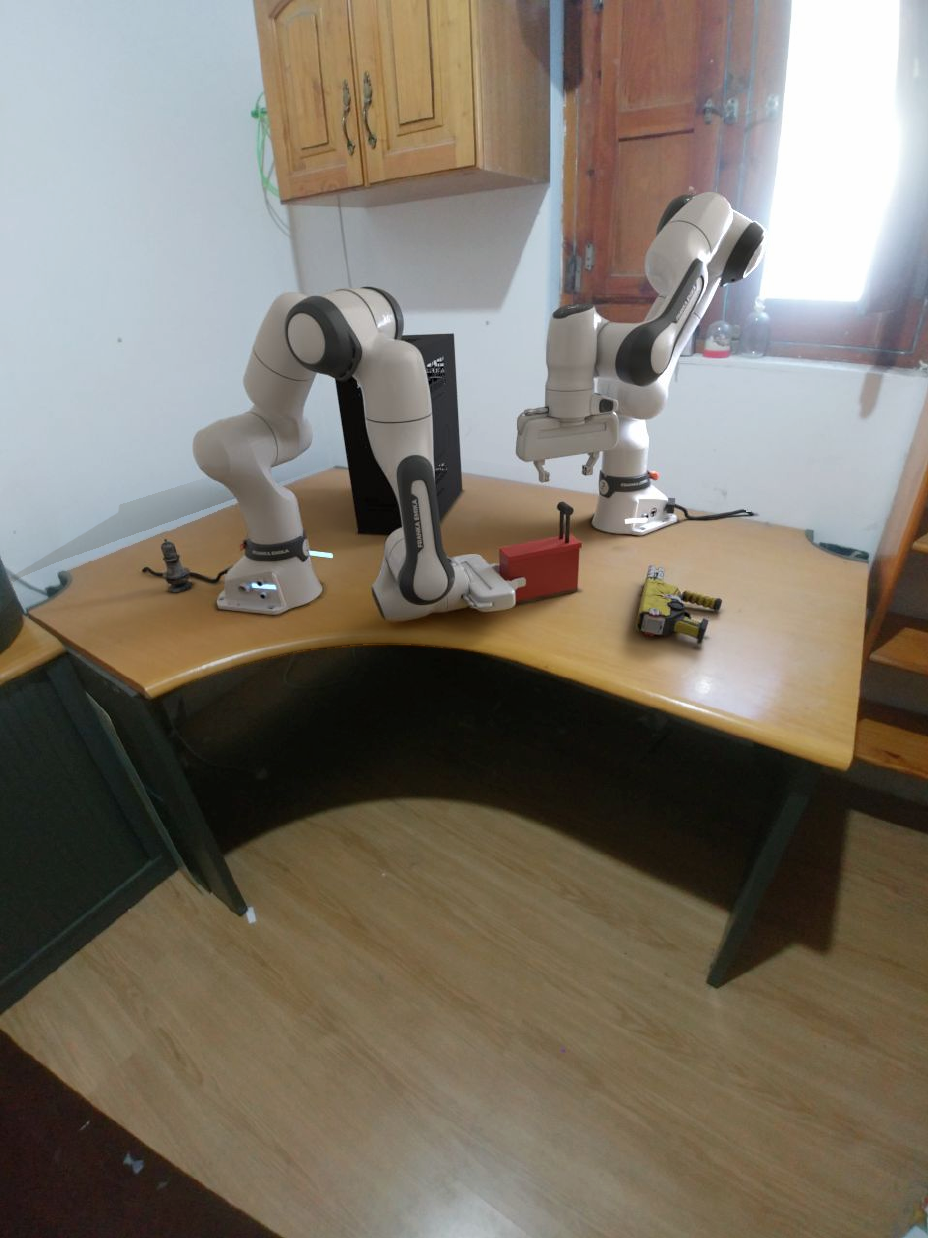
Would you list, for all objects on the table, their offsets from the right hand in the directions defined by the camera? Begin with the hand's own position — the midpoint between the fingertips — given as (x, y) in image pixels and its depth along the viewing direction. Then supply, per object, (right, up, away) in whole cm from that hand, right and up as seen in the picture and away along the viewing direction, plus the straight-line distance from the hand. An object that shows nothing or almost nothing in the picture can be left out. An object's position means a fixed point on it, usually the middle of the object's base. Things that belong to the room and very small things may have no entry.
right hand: (565, 477), depth 117 cm
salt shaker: (-85, -20, +22) cm, 91 cm away
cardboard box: (-34, +4, +59) cm, 69 cm away
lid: (-4, -14, +6) cm, 15 cm away
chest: (-4, -22, +11) cm, 25 cm away
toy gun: (+22, -26, +1) cm, 35 cm away
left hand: (-9, -18, +6) cm, 21 cm away
